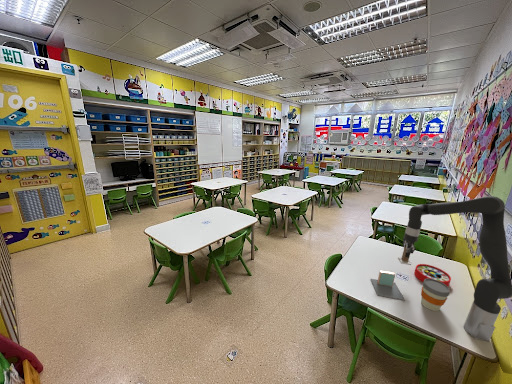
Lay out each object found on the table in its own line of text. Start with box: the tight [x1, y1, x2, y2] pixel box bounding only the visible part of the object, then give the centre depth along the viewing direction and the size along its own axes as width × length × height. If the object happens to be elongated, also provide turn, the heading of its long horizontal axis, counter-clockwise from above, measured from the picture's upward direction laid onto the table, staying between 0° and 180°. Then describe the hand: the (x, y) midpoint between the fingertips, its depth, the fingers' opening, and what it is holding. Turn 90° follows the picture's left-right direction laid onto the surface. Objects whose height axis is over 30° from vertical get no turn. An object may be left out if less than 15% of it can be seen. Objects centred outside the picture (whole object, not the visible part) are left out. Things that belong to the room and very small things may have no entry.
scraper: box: [397, 247, 412, 266], centre depth 142 cm, size 6×6×11 cm
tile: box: [377, 270, 396, 287], centre depth 143 cm, size 2×9×10 cm, turn 76°
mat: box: [370, 278, 406, 301], centre depth 140 cm, size 16×16×1 cm
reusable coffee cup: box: [420, 278, 451, 312], centre depth 126 cm, size 13×13×15 cm
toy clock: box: [413, 263, 452, 288], centre depth 151 cm, size 20×6×20 cm
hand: (405, 255), depth 142 cm, fingers closed on scraper, 3 cm apart
